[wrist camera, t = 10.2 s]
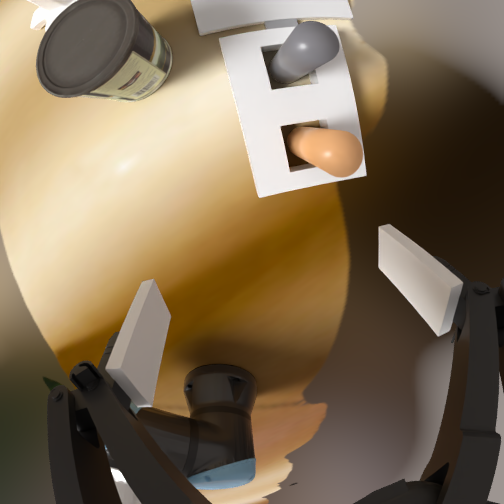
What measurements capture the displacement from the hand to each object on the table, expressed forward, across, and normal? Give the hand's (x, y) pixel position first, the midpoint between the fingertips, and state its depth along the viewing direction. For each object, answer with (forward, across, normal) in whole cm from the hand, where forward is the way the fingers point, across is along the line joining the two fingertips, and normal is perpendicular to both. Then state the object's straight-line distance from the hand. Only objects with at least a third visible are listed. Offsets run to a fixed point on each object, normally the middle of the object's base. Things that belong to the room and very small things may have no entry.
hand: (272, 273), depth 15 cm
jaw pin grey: (+21, -8, -14) cm, 27 cm away
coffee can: (+22, +10, -20) cm, 31 cm away
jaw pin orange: (+21, -8, -4) cm, 23 cm away
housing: (+21, -8, -9) cm, 25 cm away
